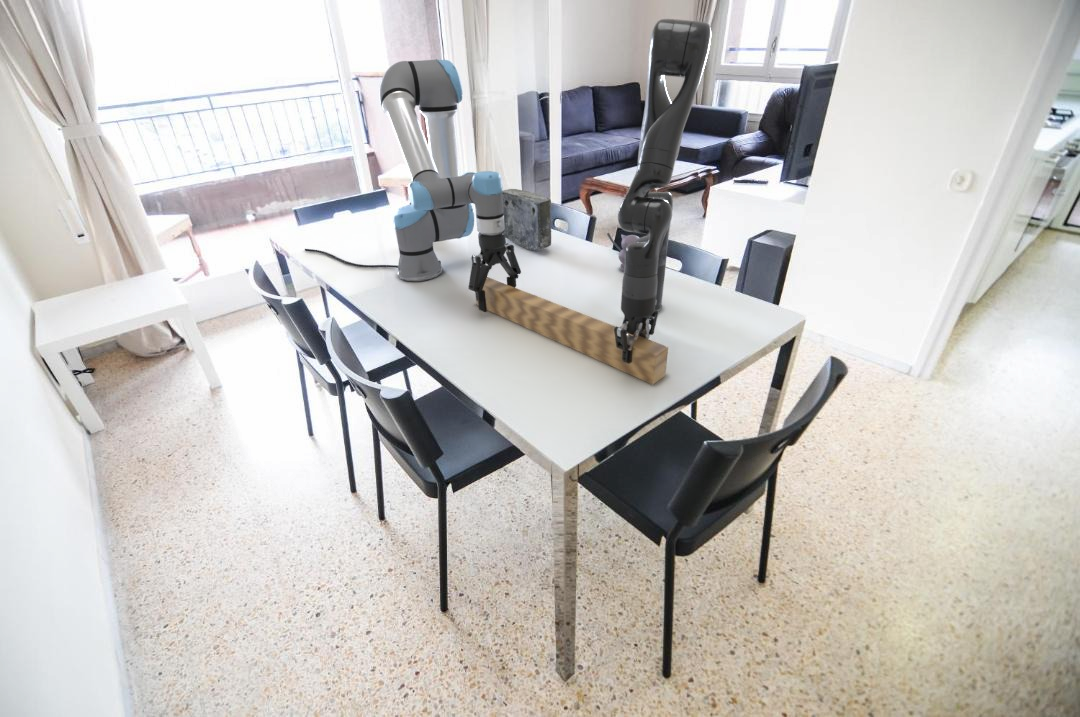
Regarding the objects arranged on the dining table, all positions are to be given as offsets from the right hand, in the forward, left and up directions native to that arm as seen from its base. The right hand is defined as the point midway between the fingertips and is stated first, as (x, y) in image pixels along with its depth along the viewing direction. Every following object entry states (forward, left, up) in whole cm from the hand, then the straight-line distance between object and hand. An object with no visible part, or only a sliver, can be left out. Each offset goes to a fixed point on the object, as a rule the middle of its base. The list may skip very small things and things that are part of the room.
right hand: (634, 357), depth 117 cm
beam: (-12, -21, -3) cm, 25 cm away
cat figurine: (-64, -8, -3) cm, 64 cm away
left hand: (-25, -43, -1) cm, 50 cm away
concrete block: (-81, -50, -3) cm, 95 cm away
